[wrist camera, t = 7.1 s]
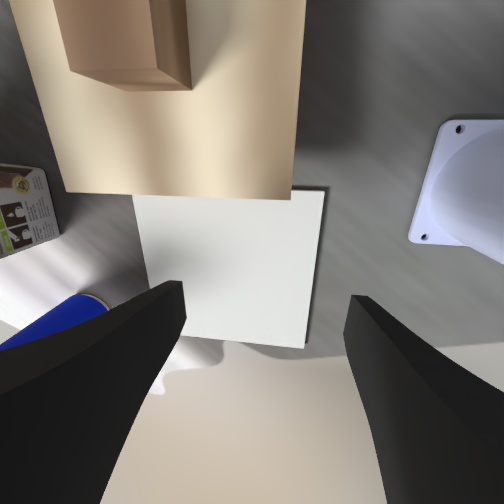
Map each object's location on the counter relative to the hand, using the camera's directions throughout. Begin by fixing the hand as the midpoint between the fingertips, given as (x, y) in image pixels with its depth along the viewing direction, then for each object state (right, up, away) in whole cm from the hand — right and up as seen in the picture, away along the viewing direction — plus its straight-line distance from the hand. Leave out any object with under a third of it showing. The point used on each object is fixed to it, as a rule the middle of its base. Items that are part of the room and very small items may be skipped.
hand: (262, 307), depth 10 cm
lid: (-5, +12, +2) cm, 14 cm away
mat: (-3, 0, +11) cm, 11 cm away
